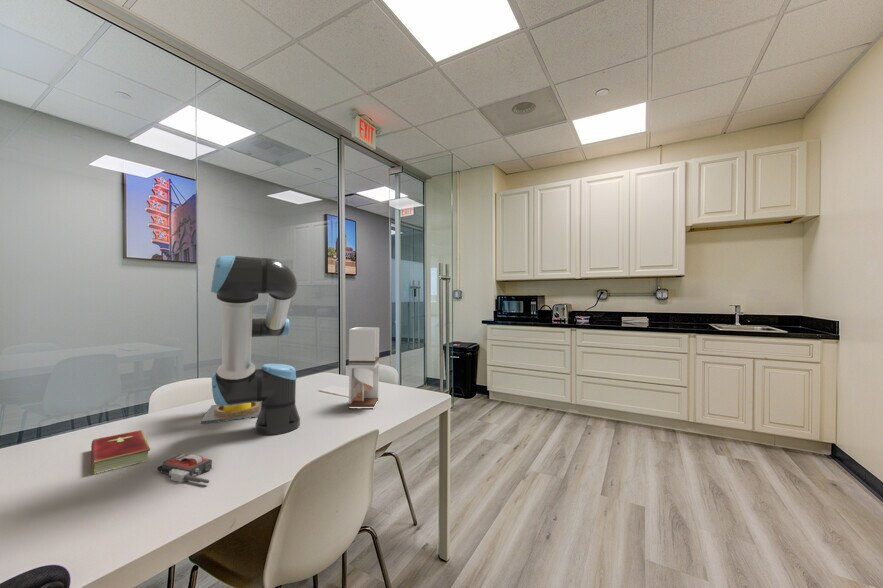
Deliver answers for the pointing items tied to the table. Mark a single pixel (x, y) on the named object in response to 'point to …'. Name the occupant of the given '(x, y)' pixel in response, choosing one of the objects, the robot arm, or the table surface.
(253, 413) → the ring collar plate
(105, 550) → the table surface
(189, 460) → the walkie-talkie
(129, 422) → the table surface
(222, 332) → the robot arm
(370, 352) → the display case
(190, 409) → the table surface
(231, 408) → the tape roll
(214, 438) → the table surface
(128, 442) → the hardcover book
